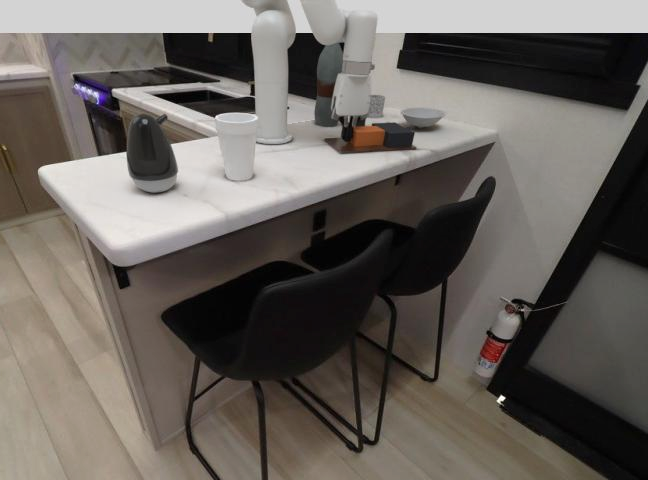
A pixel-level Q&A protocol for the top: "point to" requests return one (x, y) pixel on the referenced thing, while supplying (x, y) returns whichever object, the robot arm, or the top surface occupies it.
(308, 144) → the top surface
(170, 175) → the pump dispenser
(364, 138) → the loose pad
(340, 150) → the board
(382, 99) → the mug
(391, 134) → the back pad
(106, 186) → the top surface
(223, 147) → the foam cup
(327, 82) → the bottle
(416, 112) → the dish
